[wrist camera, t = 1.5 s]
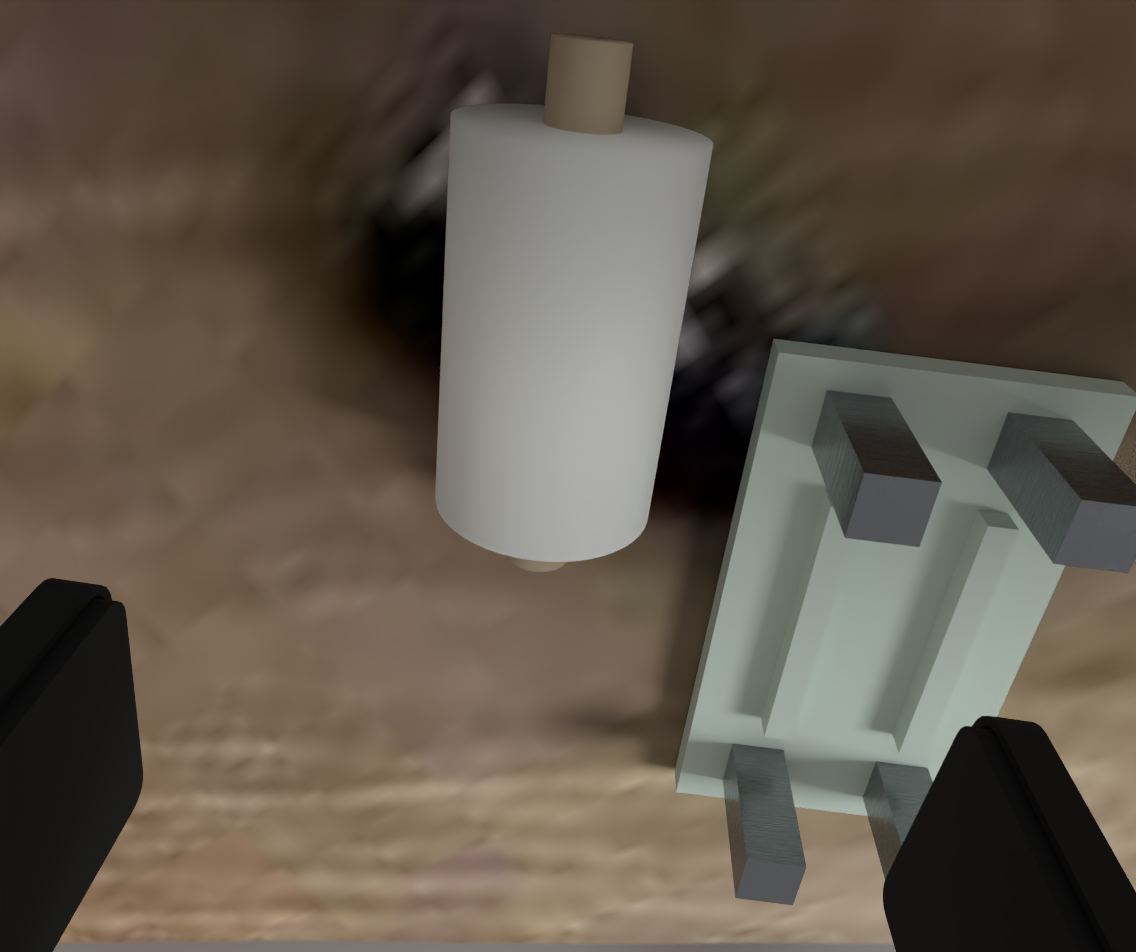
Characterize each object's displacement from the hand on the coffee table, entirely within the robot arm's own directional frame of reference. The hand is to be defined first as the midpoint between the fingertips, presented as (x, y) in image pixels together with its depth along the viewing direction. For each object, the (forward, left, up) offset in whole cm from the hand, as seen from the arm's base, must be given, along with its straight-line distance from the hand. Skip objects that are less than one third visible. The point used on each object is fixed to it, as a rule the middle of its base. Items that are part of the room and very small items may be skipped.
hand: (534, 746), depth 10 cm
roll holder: (-11, +11, -20) cm, 26 cm away
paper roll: (+1, +1, -20) cm, 20 cm away
